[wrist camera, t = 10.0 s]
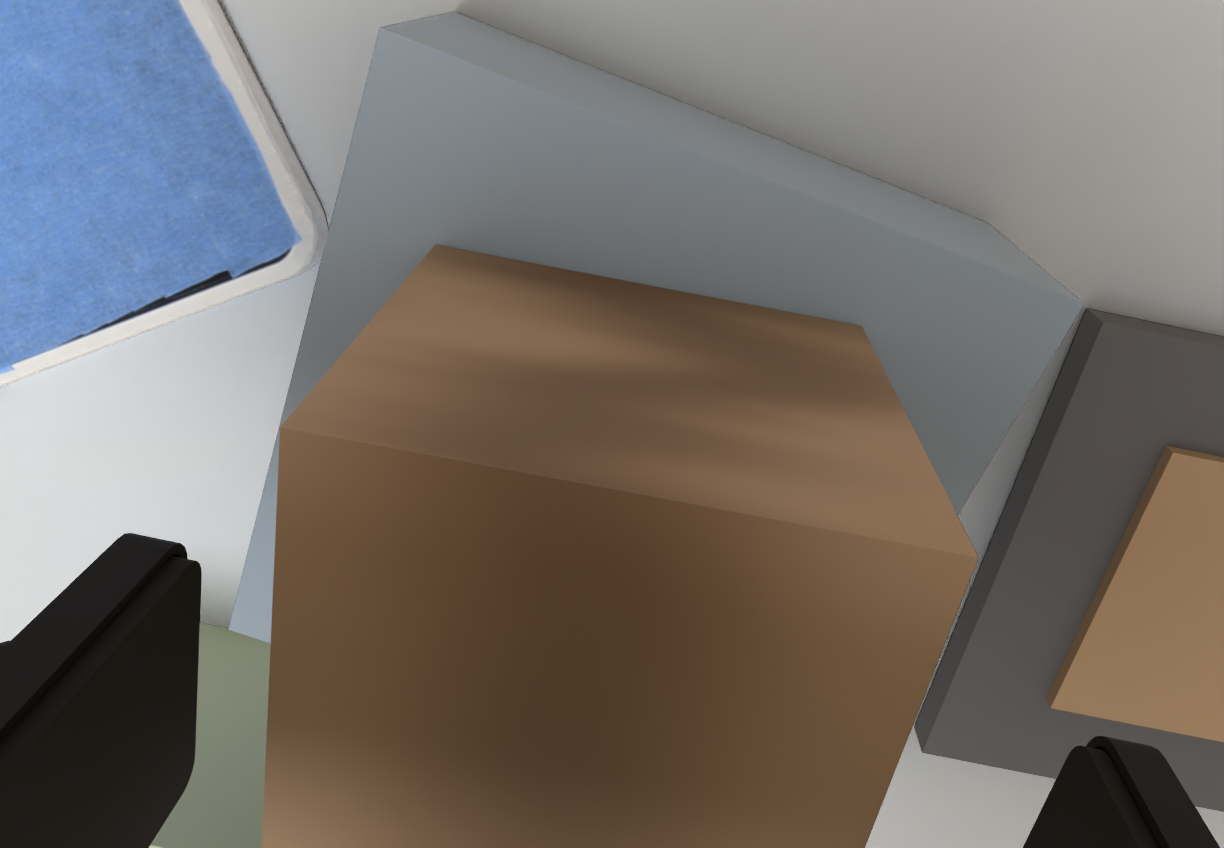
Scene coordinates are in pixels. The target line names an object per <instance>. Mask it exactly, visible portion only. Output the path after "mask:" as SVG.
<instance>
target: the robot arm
mask: <svg viewBox="0 0 1224 848" xmlns="http://www.w3.org/2000/svg"><path fill="white" fill-rule="evenodd" d="M200 602H201V567H200V564H199V563H198V562H197V561H193V560H188V559H187V552H186V549H185V547H184V546H183V545H182V544H180V543H175V542H171V541H166V540H161V539H156V538H151V537H147V536H142V535H137V534H132V533H128V534H124V535H122V536H121V537H120V538H118V539H117V540H116V541H115V542H114V543H113V544H112V545H111V546H110V547H109V548H108V549H107V550H106V551H104V552H103V553H102V554H101V555H100V556H99V557H98V558H97V559H96V560H95V561H94V562H93V563H92V564H91V565H90V566H89V567H88V568H87V569H86V570H85V571H84V572H83V573H81V574H80V575H79V576H78V577H77V578H76V579H75V580H74V581H73V582H72V583H71V584H70V585H69V586H68V587H67V588H66V589H65V590H64V591H63V592H62V593H61V594H59V595H58V596H57V597H56V598H55V599H54V600H53V601H52V602H51V603H50V604H49V605H48V606H47V607H46V608H45V609H44V610H43V611H42V612H41V613H40V614H39V615H37V616H36V617H35V618H34V619H33V620H32V621H31V622H30V623H29V624H28V625H27V626H26V627H25V628H24V629H23V630H22V631H21V632H20V633H19V634H18V635H17V636H15V637H14V638H13V639H12V640H11V641H6V642H3V643H0V848H149V846H150V845H151V843H152V842H153V840H154V838H155V837H156V835H157V834H158V832H159V831H160V829H161V827H162V826H163V824H164V823H165V821H166V820H167V818H168V816H169V815H170V813H171V812H172V810H173V809H174V807H175V805H176V804H177V802H178V801H179V799H180V798H181V796H182V794H183V792H184V791H185V789H186V787H187V784H188V782H189V780H190V777H191V774H192V770H193V766H194V761H195V748H196V718H197V689H198V660H199V631H200ZM1023 848H1220V847H1219V845H1218V844H1217V842H1216V840H1215V839H1214V837H1213V835H1212V834H1211V832H1210V831H1209V829H1208V827H1207V826H1206V824H1205V822H1204V821H1203V819H1202V817H1201V816H1200V814H1199V813H1198V811H1197V809H1196V808H1195V806H1194V804H1193V803H1192V801H1191V799H1190V798H1189V796H1188V794H1187V793H1186V791H1185V790H1184V788H1183V786H1182V785H1181V783H1180V781H1179V780H1178V778H1177V776H1176V775H1175V773H1174V772H1173V770H1172V768H1171V767H1170V765H1169V763H1168V762H1167V760H1166V758H1165V757H1164V756H1163V754H1162V753H1161V752H1160V751H1159V750H1158V749H1156V748H1154V747H1152V746H1149V745H1144V744H1139V743H1134V742H1130V741H1125V740H1120V739H1115V738H1110V737H1106V736H1096V737H1094V738H1093V739H1091V740H1090V741H1089V742H1088V744H1087V745H1086V747H1085V746H1076V747H1075V748H1073V749H1072V750H1071V752H1070V753H1069V755H1068V756H1067V758H1066V761H1065V763H1064V765H1063V767H1062V769H1061V771H1060V773H1059V775H1058V777H1057V779H1056V781H1055V783H1054V785H1053V787H1052V789H1051V791H1050V793H1049V795H1048V797H1047V799H1046V802H1045V804H1044V806H1043V808H1042V810H1041V812H1040V814H1039V816H1038V818H1037V820H1036V822H1035V824H1034V826H1033V828H1032V830H1031V832H1030V834H1029V836H1028V838H1027V840H1026V843H1025V845H1024V847H1023Z"/></svg>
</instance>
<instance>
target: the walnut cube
mask: <svg viewBox="0 0 1224 848" xmlns="http://www.w3.org/2000/svg"><path fill="white" fill-rule="evenodd" d="M978 558H979V557H978V555H977V553H976V551H975V549H974V547H973V545H972V543H971V541H970V539H969V537H968V535H967V533H966V531H965V529H964V527H963V525H962V523H961V521H960V519H959V517H958V515H957V513H956V512H955V510H954V508H953V506H952V504H951V502H950V500H949V498H948V496H947V494H946V492H945V490H944V488H943V486H942V484H941V482H940V480H939V478H938V476H937V474H936V472H935V470H934V468H933V466H932V464H931V462H930V460H929V458H928V456H927V454H926V452H925V450H924V448H923V446H922V444H921V442H920V440H919V438H918V436H917V434H916V432H915V430H914V428H913V426H912V424H911V422H910V420H909V419H908V417H907V415H906V413H905V411H904V409H903V407H902V405H901V403H900V401H899V399H898V397H897V395H896V393H895V391H894V389H893V387H892V385H891V383H890V381H889V379H888V377H887V375H886V373H885V371H884V369H883V367H882V365H881V363H880V361H879V359H878V357H877V355H876V353H875V351H874V349H873V347H872V345H871V343H870V341H869V339H868V337H867V335H866V333H865V331H864V329H863V327H862V326H859V325H854V324H849V323H844V322H838V321H833V320H828V319H823V318H817V317H812V316H807V315H802V314H796V313H791V312H786V311H781V310H775V309H770V308H765V307H760V306H755V305H749V304H744V303H739V302H734V301H728V300H723V299H718V298H713V297H707V296H702V295H697V294H692V293H686V292H681V291H676V290H671V289H665V288H660V287H655V286H650V285H645V284H639V283H634V282H629V281H624V280H618V279H613V278H608V277H603V276H597V275H592V274H587V273H582V272H576V271H571V270H566V269H561V268H555V267H550V266H545V265H540V264H534V263H529V262H524V261H519V260H514V259H508V258H503V257H498V256H493V255H487V254H482V253H477V252H472V251H466V250H461V249H456V248H451V247H445V246H440V245H434V247H433V248H432V249H431V250H430V251H429V253H428V254H427V255H426V256H425V257H424V258H423V260H422V261H421V262H420V263H419V264H418V265H417V267H416V268H415V269H414V270H413V271H412V273H411V274H410V275H409V276H408V277H407V278H406V280H405V281H404V282H403V283H402V284H401V285H400V287H399V288H398V289H397V290H396V291H395V293H394V294H393V295H392V296H391V297H390V298H389V300H388V301H387V302H386V303H385V304H384V306H383V307H382V308H381V309H380V310H379V311H378V313H377V314H376V315H375V316H374V317H373V318H372V320H371V321H370V322H369V323H368V324H367V326H366V327H365V328H364V329H363V330H362V331H361V333H360V334H359V335H358V336H357V337H356V338H355V340H354V341H353V342H352V343H351V344H350V346H349V347H348V348H347V349H346V350H345V351H344V353H343V354H342V355H341V356H340V357H339V359H338V360H337V361H336V362H335V363H334V364H333V366H332V367H331V368H330V369H329V370H328V371H327V373H326V374H325V375H324V376H323V377H322V379H321V380H320V381H319V382H318V383H317V384H316V386H315V387H314V388H313V389H312V390H311V391H310V393H309V394H308V395H307V396H306V397H305V399H304V400H303V401H302V402H301V403H300V404H299V406H298V407H297V408H296V409H295V410H294V412H293V413H292V414H291V415H290V416H289V417H288V419H287V420H286V421H285V422H284V423H283V424H282V426H281V427H280V441H279V464H278V487H277V509H276V532H275V555H274V578H273V601H272V623H271V646H270V669H269V692H268V715H267V738H266V760H265V783H264V806H263V829H262V848H865V846H866V843H867V840H868V838H869V835H870V833H871V830H872V828H873V825H874V823H875V820H876V818H877V815H878V813H879V810H880V807H881V805H882V802H883V800H884V797H885V795H886V792H887V790H888V787H889V785H890V782H891V779H892V777H893V774H894V772H895V769H896V767H897V764H898V762H899V759H900V757H901V754H902V751H903V749H904V746H905V744H906V741H907V739H908V736H909V734H910V731H911V729H912V726H913V723H914V721H915V718H916V716H917V713H918V711H919V708H920V706H921V703H922V701H923V698H924V695H925V693H926V690H927V688H928V685H929V683H930V680H931V678H932V675H933V673H934V670H935V667H936V665H937V662H938V660H939V657H940V655H941V652H942V650H943V647H944V645H945V642H946V639H947V637H948V634H949V632H950V629H951V627H952V624H953V622H954V619H955V617H956V614H957V611H958V609H959V606H960V604H961V601H962V599H963V596H964V594H965V591H966V589H967V586H968V583H969V581H970V578H971V576H972V573H973V571H974V568H975V566H976V563H977V561H978Z"/></svg>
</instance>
